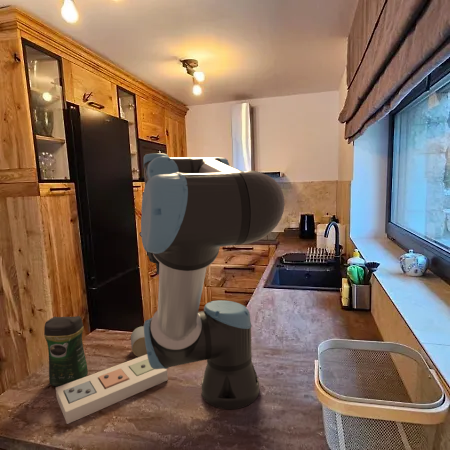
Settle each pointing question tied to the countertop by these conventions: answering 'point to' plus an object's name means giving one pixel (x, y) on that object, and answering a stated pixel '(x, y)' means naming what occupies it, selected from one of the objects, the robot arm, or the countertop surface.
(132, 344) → the ceramic mug
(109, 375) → the two-pip button
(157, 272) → the robot arm
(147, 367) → the one-pip button
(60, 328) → the coffee jar
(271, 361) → the countertop surface
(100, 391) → the button panel
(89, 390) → the three-pip button
